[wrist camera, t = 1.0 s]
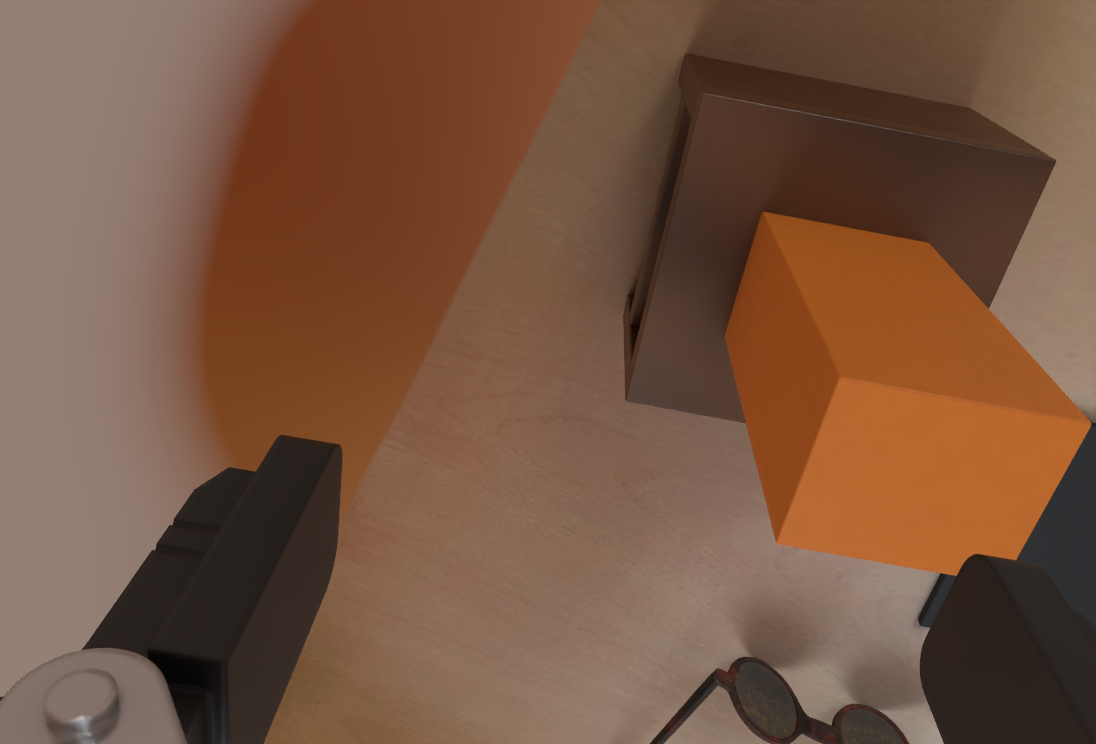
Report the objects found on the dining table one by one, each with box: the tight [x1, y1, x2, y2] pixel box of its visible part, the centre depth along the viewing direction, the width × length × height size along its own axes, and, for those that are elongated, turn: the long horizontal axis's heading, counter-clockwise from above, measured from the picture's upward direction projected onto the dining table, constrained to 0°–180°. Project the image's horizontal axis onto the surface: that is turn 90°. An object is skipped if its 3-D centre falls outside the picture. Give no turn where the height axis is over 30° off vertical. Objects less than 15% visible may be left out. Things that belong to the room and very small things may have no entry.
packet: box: [724, 212, 1091, 576], centre depth 27 cm, size 5×6×12 cm
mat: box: [918, 422, 1096, 628], centre depth 46 cm, size 14×12×1 cm
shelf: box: [623, 54, 1056, 423], centre depth 35 cm, size 12×12×8 cm
